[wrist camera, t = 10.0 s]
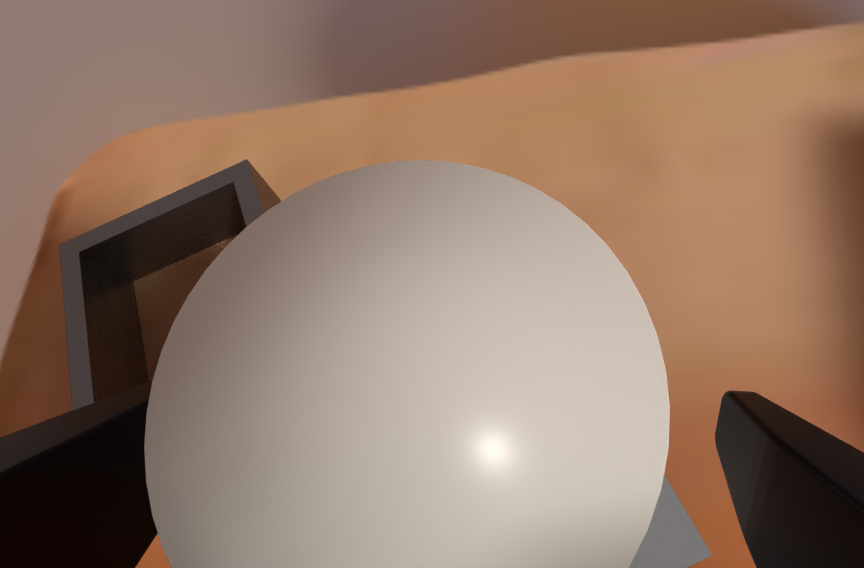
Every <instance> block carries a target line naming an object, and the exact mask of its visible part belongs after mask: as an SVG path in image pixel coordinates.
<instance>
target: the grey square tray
mask: <svg viewBox="0 0 864 568" xmlns="http://www.w3.org/2000/svg"><path fill="white" fill-rule="evenodd" d="M280 202H281V201H280V199H279V197H278V196H277V195H276V194H275V193H274V191H273V190H272V189H271V188H270V187H269V185H268V184H267V183H266V182H265V180H264V179H263V178H262V177H261V176H260V174H259V173H258V172H257V171H256V170H255V168H254V167H253V166H252V165H251V164H250V162H249V161H248V160H247V159H246V160H244V161H242V162H240V163H238V164H235V165H233V166H231V167H229V168H227V169H224V170H222V171H220V172H218V173H216V174H214V175H211V176H209V177H207V178H205V179H203V180H200V181H198V182H196V183H194V184H192V185H189V186H187V187H185V188H183V189H181V190H178V191H176V192H174V193H172V194H170V195H167V196H165V197H163V198H161V199H159V200H156V201H154V202H152V203H150V204H148V205H145V206H143V207H141V208H139V209H137V210H134V211H132V212H130V213H128V214H126V215H123V216H121V217H119V218H117V219H115V220H112V221H110V222H108V223H106V224H104V225H101V226H99V227H97V228H95V229H93V230H90V231H88V232H86V233H84V234H82V235H79V236H77V237H75V238H73V239H71V240H69V241H66V242H64V243H62V244H60V245H59V246H60V259H61V271H62V284H63V297H64V310H65V322H66V335H67V348H68V361H69V373H70V386H71V399H72V411H73V410H76V409H78V408H81V407H84V406H86V405H89V404H91V403H94V402H97V401H99V400H102V399H105V398H107V397H110V396H113V395H115V394H118V393H121V392H123V391H126V390H129V389H131V388H134V387H137V386H139V385H142V384H144V383H147V382H148V377H147V371H146V364H145V358H144V351H143V345H142V338H141V332H140V325H139V319H138V312H137V305H136V299H135V292H134V286H133V281H135V280H137V279H139V278H141V277H143V276H146V275H148V274H150V273H152V272H154V271H156V270H159V269H161V268H163V267H165V266H167V265H170V264H172V263H174V262H176V261H178V260H181V259H183V258H185V257H187V256H189V255H191V254H194V253H196V252H198V251H200V250H202V249H205V248H207V247H209V246H211V245H213V244H216V243H218V242H220V241H222V240H224V239H227V238H229V237H231V236H233V235H235V234H237V233H240V232H242V231H243V230H244V229H245V228H246V227H247V226H248V225H250V224H251V223H252V222H253V221H255V220H256V219H257V218H259V217H260V216H261V215H262V214H264V213H265V212H266V211H268V210H269V209H270V208H272V207H274V206H275V205H277V204H278V203H280Z"/></svg>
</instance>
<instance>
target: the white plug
mask: <svg viewBox="0 0 864 568" xmlns="http://www.w3.org/2000/svg"><path fill="white" fill-rule="evenodd" d="M669 420H670V405H669V395H668V386H667V376H666V369H665V365H664V361H663V357H662V353H661V348H660V344H659V340H658V336H657V333H656V331H655V328H654V326H653V323H652V320H651V318H650V315H649V313H648V310H647V308H646V305H645V303H644V301H643V299H642V297H641V295H640V294H639V292H638V290H637V288H636V286H635V285H634V283H633V281H632V279H631V277H630V276H629V274H628V272H627V271H626V269H625V268H624V267H623V265H622V264H621V263H620V261H619V260H618V259H617V257H616V256H615V255H614V253H613V252H612V251H611V249H610V248H609V247H608V245H607V244H606V243H605V242H604V241H603V240H602V239H601V238H600V237H599V236H598V235H597V234H596V233H595V232H594V231H593V230H592V229H591V228H590V227H589V226H588V225H587V224H586V223H585V222H584V221H583V220H581V219H580V218H579V217H578V216H576V215H575V214H574V213H573V212H571V211H570V210H569V209H568V208H566V207H565V206H564V205H563V204H561V203H559V202H558V201H556V200H554V199H553V198H551V197H550V196H548V195H546V194H545V193H543V192H541V191H540V190H538V189H536V188H534V187H532V186H530V185H528V184H525V183H523V182H521V181H519V180H517V179H514V178H512V177H510V176H507V175H504V174H501V173H498V172H494V171H491V170H488V169H485V168H481V167H476V166H471V165H466V164H460V163H455V162H443V161H430V160H420V161H397V162H390V163H383V164H376V165H370V166H367V167H363V168H359V169H355V170H351V171H347V172H344V173H341V174H338V175H335V176H333V177H330V178H327V179H325V180H322V181H319V182H317V183H315V184H313V185H311V186H309V187H307V188H305V189H303V190H301V191H299V192H297V193H295V194H293V195H291V196H290V197H288V198H286V199H285V200H283V201H282V202H280V203H278V204H277V205H275V206H274V207H272V208H270V209H269V210H268V211H266V212H265V213H264V214H262V215H261V216H260V217H259V218H257V219H256V220H255V221H253V222H252V223H251V224H250V225H248V226H247V227H246V228H245V229H244V230H243V231H242V232H241V233H240V234H238V235H237V236H236V237H235V238H234V239H233V240H232V241H231V242H230V243H229V244H228V245H227V246H226V247H225V248H224V249H223V250H222V251H221V253H220V254H219V255H218V256H217V257H216V258H215V260H214V261H213V262H212V263H211V264H210V265H209V267H208V268H207V269H206V270H205V272H204V273H203V275H202V276H201V277H200V279H199V280H198V282H197V283H196V285H195V286H194V288H193V289H192V290H191V292H190V293H189V295H188V297H187V298H186V300H185V302H184V304H183V306H182V308H181V309H180V311H179V313H178V315H177V317H176V318H175V320H174V322H173V325H172V327H171V329H170V332H169V334H168V336H167V339H166V341H165V344H164V346H163V348H162V351H161V354H160V357H159V361H158V364H157V367H156V371H155V374H154V377H153V381H152V386H151V392H150V397H149V402H148V408H147V413H146V428H145V443H144V451H145V470H146V483H147V489H148V494H149V500H150V506H151V511H152V516H153V519H154V522H155V526H156V529H157V532H158V535H159V538H160V541H161V544H162V548H163V550H164V552H165V554H166V557H167V559H168V561H169V563H170V565H171V567H172V568H629V566H630V565H631V562H632V560H633V558H634V556H635V554H636V552H637V550H638V548H639V546H640V544H641V542H642V540H643V538H644V536H645V534H646V532H647V530H648V528H649V525H650V522H651V519H652V516H653V513H654V510H655V507H656V504H657V501H658V498H659V495H660V492H661V488H662V482H663V477H664V471H665V466H666V460H667V454H668V448H669Z"/></svg>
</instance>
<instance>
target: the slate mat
mask: <svg viewBox="0 0 864 568" xmlns="http://www.w3.org/2000/svg"><path fill="white" fill-rule="evenodd" d="M710 556H712V554H711V553H710V551H709V549H708V548H707V546H706V544H705V542H704V541H703V539H702V537H701V536H700V534H699V532H698V531H697V529H696V527H695V526H694V524H693V522H692V521H691V519H690V517H689V515H688V514H687V512H686V510H685V509H684V507H683V505H682V504H681V502H680V500H679V499H678V497H677V495H676V494H675V492H674V490H673V488H672V487H671V485H670V483H669V482H668V480H667V478H666V477H665V475H664V477H663V482H662V488H661V492H660V495H659V498H658V501H657V504H656V507H655V510H654V513H653V516H652V519H651V522H650V525H649V528H648V530H647V532H646V534H645V536H644V538H643V540H642V542H641V544H640V546H639V548H638V550H637V552H636V554H635V556H634V558H633V560H632V562H631V565H630V566H629V568H687V567H689V566H691V565H693V564H695V563H697V562H699V561H701V560H704V559H706V558H708V557H710Z"/></svg>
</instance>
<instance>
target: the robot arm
mask: <svg viewBox="0 0 864 568" xmlns="http://www.w3.org/2000/svg"><path fill="white" fill-rule="evenodd" d="M152 381H153V380H152ZM152 381H150V382H147V383H144V384H142V385H139V386H137V387H134V388H131V389H129V390H126V391H123V392H121V393H118V394H115V395H113V396H110V397H107V398H105V399H102V400H99V401H97V402H94V403H91V404H89V405H86V406H84V407H81V408H78V409H76V410H73V411H70V412H68V413H65V414H62V415H60V416H57V417H54V418H52V419H49V420H46V421H44V422H41V423H38V424H36V425H33V426H31V427H28V428H25V429H23V430H20V431H17V432H15V433H12V434H9V435H7V436H4V437H1V438H0V568H135V567H136V565H137V564H138V562H139V561H140V559H141V558H142V556H143V555H144V553H145V552H146V550H147V549H148V547H149V546H150V544H151V543H152V541H153V540H154V538H155V536H156V535H157V533H158V532H157V529H156V526H155V522H154V519H153V516H152V511H151V506H150V500H149V494H148V489H147V483H146V470H145V451H144V443H145V428H146V413H147V408H148V402H149V397H150V392H151V386H152ZM715 442H716V447H717V451H718V454H719V458H720V461H721V464H722V468H723V471H724V474H725V478H726V481H727V484H728V488H729V491H730V494H731V498H732V501H733V504H734V507H735V511H736V514H737V517H738V521H739V524H740V527H741V530H742V533H743V536H744V538H745V541H746V543H747V546H748V548H749V551H750V553H751V556H752V558H753V560H754V563H755V565H756V567H757V568H864V453H863V452H862V451H860V450H858V449H856V448H854V447H853V446H851V445H849V444H847V443H845V442H844V441H842V440H840V439H838V438H836V437H835V436H833V435H831V434H829V433H827V432H826V431H824V430H822V429H820V428H818V427H817V426H815V425H813V424H811V423H809V422H808V421H806V420H804V419H802V418H800V417H799V416H797V415H795V414H793V413H791V412H790V411H788V410H786V409H784V408H782V407H781V406H779V405H777V404H775V403H774V402H772V401H770V400H768V399H766V398H765V397H763V396H761V395H759V394H757V393H755V392H749V391H727V392H726V393H725V394H724V395H723V397H722V401H721V406H720V411H719V416H718V421H717V427H716V432H715Z"/></svg>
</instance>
